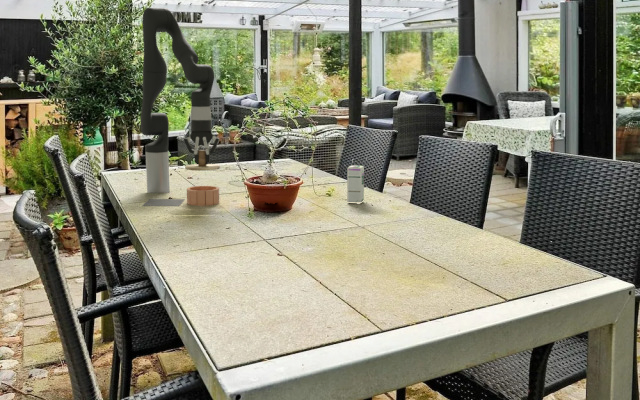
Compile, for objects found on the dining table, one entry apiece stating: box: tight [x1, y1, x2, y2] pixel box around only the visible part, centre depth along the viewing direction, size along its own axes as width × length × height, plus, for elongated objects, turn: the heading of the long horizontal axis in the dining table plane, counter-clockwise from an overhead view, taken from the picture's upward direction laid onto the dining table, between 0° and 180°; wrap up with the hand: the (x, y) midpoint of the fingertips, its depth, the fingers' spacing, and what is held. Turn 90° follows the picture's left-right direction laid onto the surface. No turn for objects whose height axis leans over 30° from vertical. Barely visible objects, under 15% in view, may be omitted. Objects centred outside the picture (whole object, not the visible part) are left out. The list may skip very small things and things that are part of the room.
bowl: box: [186, 185, 220, 207], centre depth 248 cm, size 12×12×6 cm
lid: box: [184, 149, 221, 172], centre depth 245 cm, size 13×13×7 cm
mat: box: [141, 198, 186, 207], centre depth 248 cm, size 14×14×1 cm
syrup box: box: [346, 165, 365, 202], centre depth 252 cm, size 6×6×14 cm
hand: (202, 163), depth 246 cm, fingers closed on lid, 3 cm apart
